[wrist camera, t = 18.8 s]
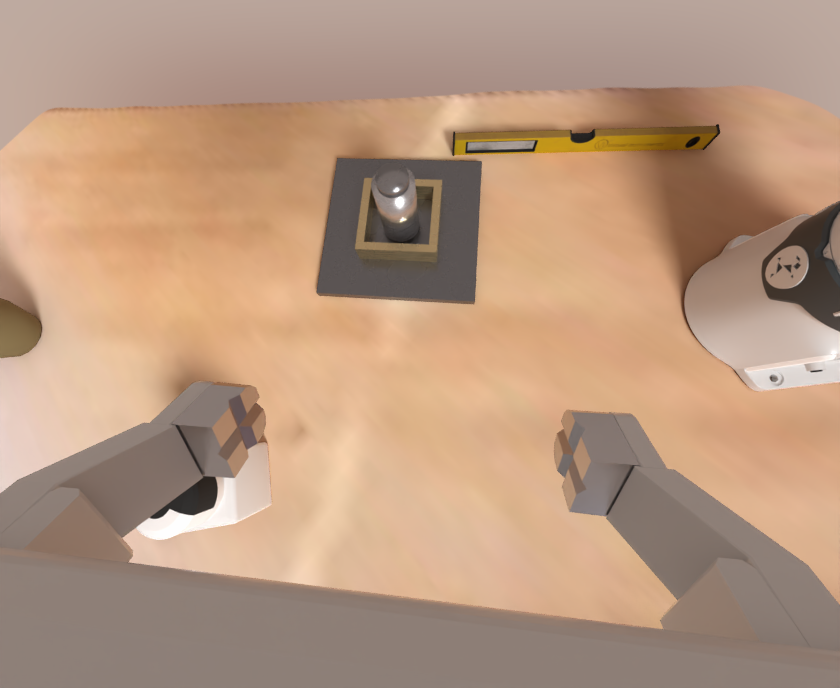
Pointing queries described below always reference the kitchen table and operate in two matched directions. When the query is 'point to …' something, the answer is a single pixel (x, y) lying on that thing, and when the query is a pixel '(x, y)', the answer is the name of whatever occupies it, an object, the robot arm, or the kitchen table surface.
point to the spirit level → (584, 140)
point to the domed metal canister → (396, 201)
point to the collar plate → (410, 260)
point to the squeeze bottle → (17, 330)
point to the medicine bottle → (215, 500)
